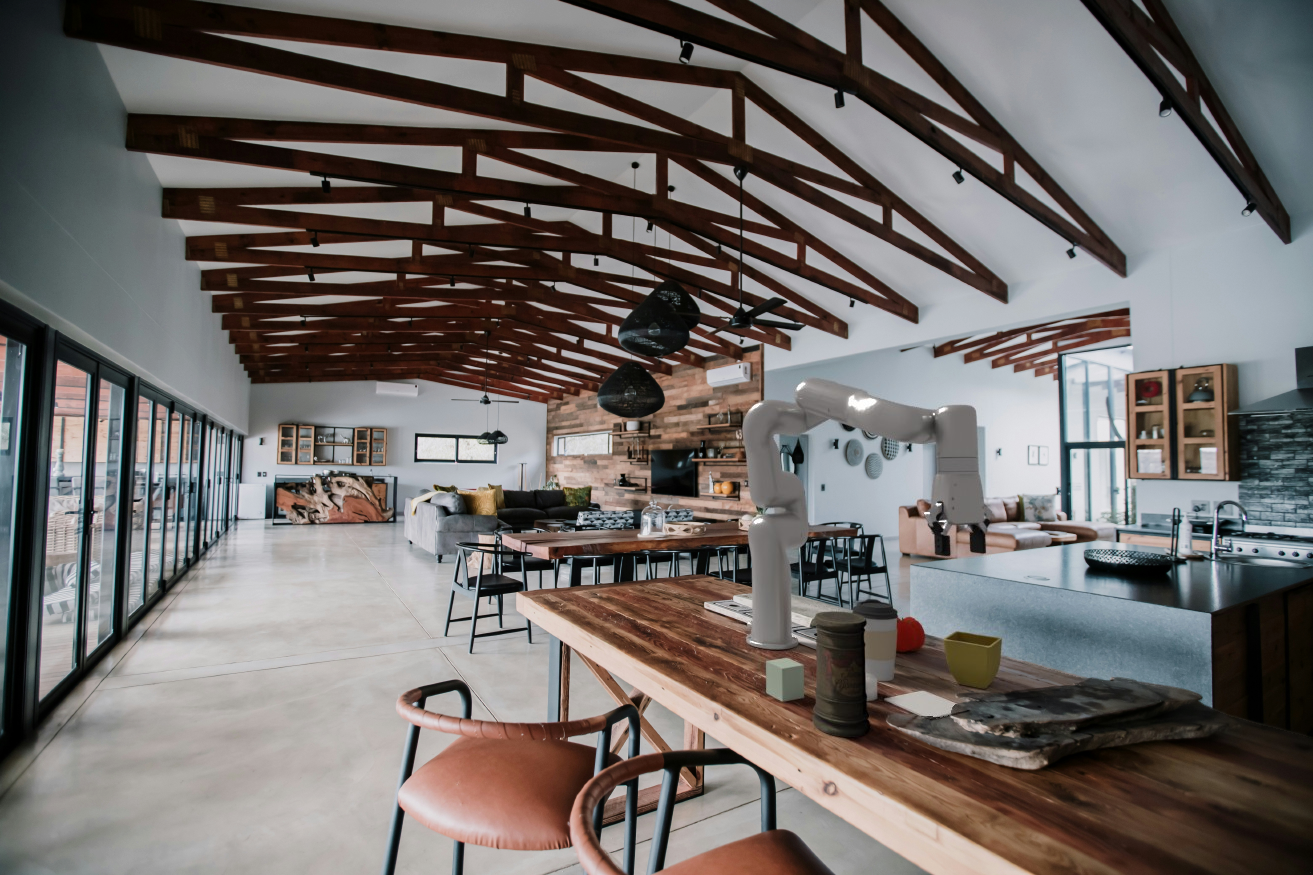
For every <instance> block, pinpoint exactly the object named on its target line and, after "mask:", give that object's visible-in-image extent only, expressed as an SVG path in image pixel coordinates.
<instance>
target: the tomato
mask: <svg viewBox="0 0 1313 875" xmlns="http://www.w3.org/2000/svg"><path fill="white" fill-rule="evenodd" d="M925 633H926V632H925V629H924V627H923V624H921V623H920V622H919V621H918V620H917V619H916V618H914V617H912V616H907V617H901V619H900V618H899V617H898V618H897V644H896V652H899V653H905V652H906V653H907V652H909V651H911V652H914V651H918V650H919V649H921V648H922V647H923V645H924V643H925V640H926V634H925Z"/></svg>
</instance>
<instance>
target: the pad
mask: <svg viewBox="0 0 1313 875" xmlns="http://www.w3.org/2000/svg"><path fill="white" fill-rule="evenodd" d="M884 701H885V702H888V703H891V704H892V705H894V706H896V707H899V708H901V709H904V710H906V711H908V712H911V713H913V714H915V715H917V716H919V717H921V716H933V717H940V718H944V717H948V715H949V716H951V715H950V714H951V710H952V707H953V706H954V705H955V704H957V703H956V702H954V701H951V700H949V699H946V698H944V697H941V696H938V695H936V694H933V693H931V692H929V691H926V690H919V691H915V692H910V693H904V694H899V695H896V696H891V697H885V698H884ZM943 716H944V717H943Z"/></svg>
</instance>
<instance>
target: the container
mask: <svg viewBox="0 0 1313 875" xmlns="http://www.w3.org/2000/svg"><path fill="white" fill-rule="evenodd" d="M813 619H814V622H815V623H816V625H815V628H816V639H815V642H816V646H815V648H816V655H815V656H816V683H815V684H816V685H815V686H816V687H815V704H814V706H813V712H814V714H813V715H812V723H813V725H814V726H815V727H816V729H818V730H819V731H821V732H823V733H826V734H828V735H831V736H836V737H843V738H858V737H863V736H865V735H868V733H869V732H870V730H871V722H870V720H869V718H870V716H871V715H870V712H869V711H868V704H867V703H868V701H867V694H866V672H865V646H866V644H865V642H864V632H865V628H864V627H865V626H866V624H867V621H866V618H865V617H863V616H861V615H858V614H854V613H852V612H846V611H821V612H817V613H816V614H815V615H814V618H813Z"/></svg>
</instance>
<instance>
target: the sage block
mask: <svg viewBox="0 0 1313 875" xmlns="http://www.w3.org/2000/svg"><path fill="white" fill-rule="evenodd" d="M765 681H766V682H765V688H766V689H765V690H766V691H765V692H766V694H767V695H769V696H771V697H772V698H775V699H776V700H779V701H780V702H783V703H785V702H788V701H794V700H798V699H804V698H805V666H804V664H803V663H800V662H797V661H795V660H793V659H791V658H789V657H783V658H777V659H771V660H766V661H765Z"/></svg>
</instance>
